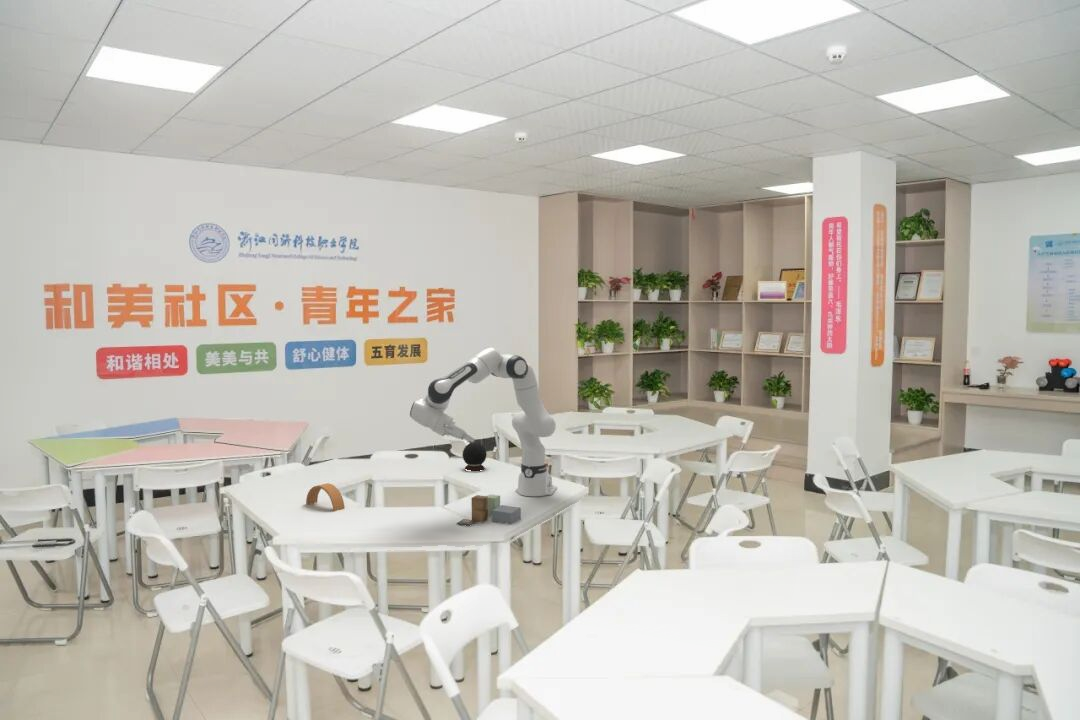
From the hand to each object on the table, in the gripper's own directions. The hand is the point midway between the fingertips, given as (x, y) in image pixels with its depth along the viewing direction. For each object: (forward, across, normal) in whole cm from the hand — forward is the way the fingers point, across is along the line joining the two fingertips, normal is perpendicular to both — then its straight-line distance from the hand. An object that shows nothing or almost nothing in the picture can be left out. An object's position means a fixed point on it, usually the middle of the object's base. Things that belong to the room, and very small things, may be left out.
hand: (473, 440), depth 310 cm
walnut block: (+18, +3, +28) cm, 33 cm away
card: (+14, -1, +31) cm, 34 cm away
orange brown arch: (-46, +28, +57) cm, 78 cm away
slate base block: (+28, +3, +23) cm, 36 cm away
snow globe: (+3, +96, +12) cm, 97 cm away
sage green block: (+22, +11, +24) cm, 34 cm away
